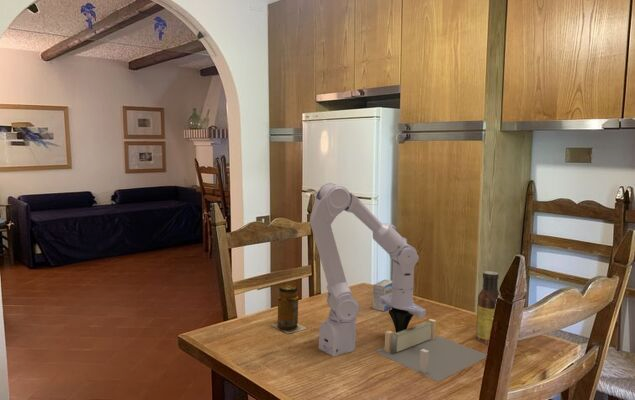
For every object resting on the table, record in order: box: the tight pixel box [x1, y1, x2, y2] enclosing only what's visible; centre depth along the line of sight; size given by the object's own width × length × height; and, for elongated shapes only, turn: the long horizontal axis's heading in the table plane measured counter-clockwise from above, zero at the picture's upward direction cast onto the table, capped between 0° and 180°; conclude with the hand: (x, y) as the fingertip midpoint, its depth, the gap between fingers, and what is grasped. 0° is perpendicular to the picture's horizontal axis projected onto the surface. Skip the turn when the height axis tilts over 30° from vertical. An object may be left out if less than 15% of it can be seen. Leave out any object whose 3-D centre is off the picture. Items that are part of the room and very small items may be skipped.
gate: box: [391, 321, 432, 353], centre depth 123 cm, size 15×1×5 cm, turn 129°
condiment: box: [271, 284, 308, 334], centre depth 136 cm, size 7×8×12 cm
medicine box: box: [372, 279, 392, 312], centre depth 155 cm, size 8×4×9 cm, turn 143°
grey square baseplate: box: [374, 318, 487, 383], centre depth 119 cm, size 22×20×6 cm
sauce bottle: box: [475, 270, 500, 345], centre depth 128 cm, size 6×6×20 cm
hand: (400, 335), depth 126 cm, fingers closed
